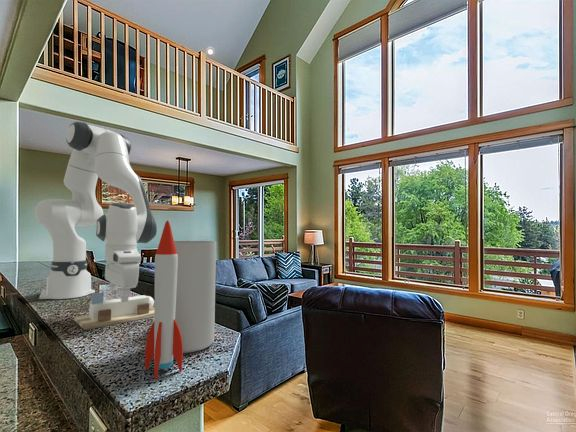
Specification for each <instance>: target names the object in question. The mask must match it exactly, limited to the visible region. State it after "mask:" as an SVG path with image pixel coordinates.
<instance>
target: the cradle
mask: <svg viewBox="0 0 576 432" xmlns="http://www.w3.org/2000/svg"><path fill="white" fill-rule="evenodd" d="M154 311H155V306H153V307H152V308H151V309H149V303H144V304H138V310H137V313H136V314H131V315H125V316H119V317H114V318H111V309H105V310H99V311H98V320H96V321H92V320H91V319H90V318H89V314H85V315H80V316H74V318H73V319H74V322H76V323H77V325H79V326H80V327H81V328H82V329H83V330H84V331H86V330H91V329H97V328H102V327H108V326H112V325H118V324H122V323H123V324H124V323H128V322H133V321H139V320H143V319H149V318H154Z"/></svg>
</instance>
